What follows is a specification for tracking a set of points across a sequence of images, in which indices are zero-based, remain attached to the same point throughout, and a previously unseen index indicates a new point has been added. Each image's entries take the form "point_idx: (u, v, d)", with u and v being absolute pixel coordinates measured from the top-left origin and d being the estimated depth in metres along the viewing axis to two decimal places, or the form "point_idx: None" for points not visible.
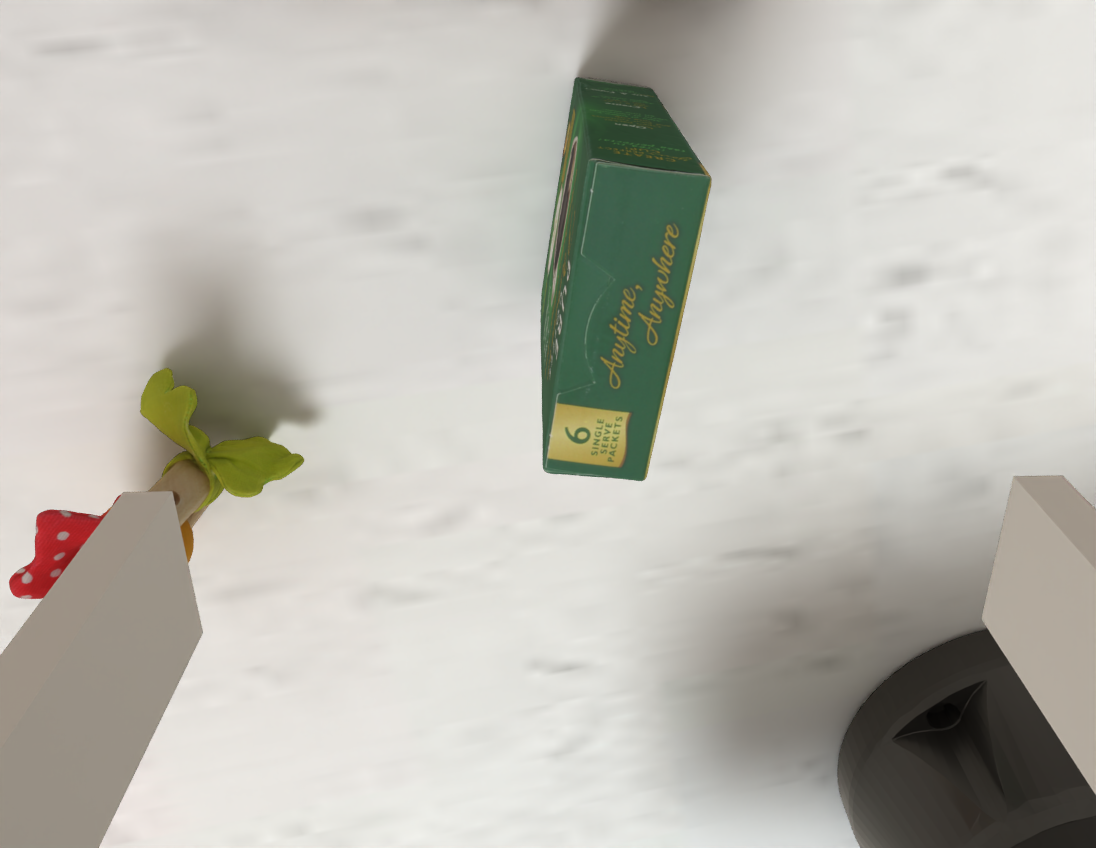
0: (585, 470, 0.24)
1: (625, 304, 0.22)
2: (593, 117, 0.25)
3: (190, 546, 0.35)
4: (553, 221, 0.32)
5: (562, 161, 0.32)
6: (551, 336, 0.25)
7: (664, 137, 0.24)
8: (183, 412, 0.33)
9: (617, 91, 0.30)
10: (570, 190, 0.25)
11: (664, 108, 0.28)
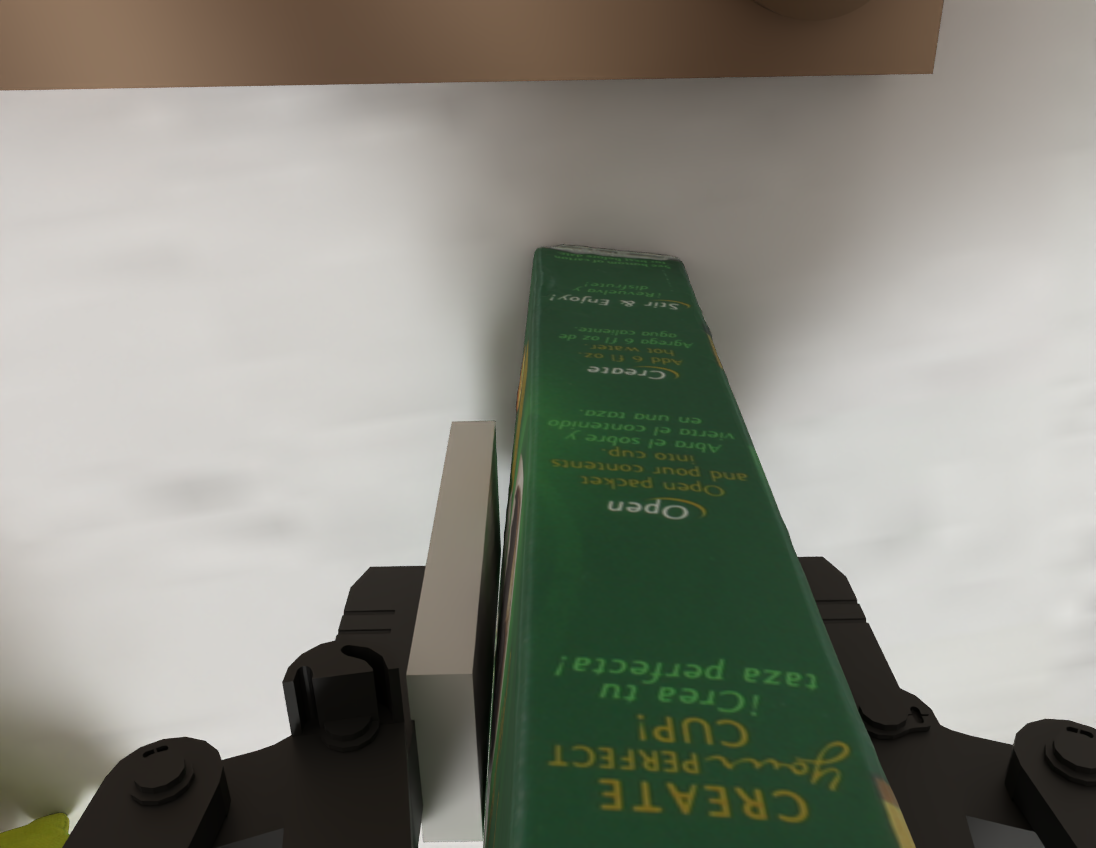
0: None
1: None
2: (554, 474, 0.10)
3: None
4: None
5: None
6: None
7: (743, 577, 0.09)
8: None
9: (615, 295, 0.15)
10: (506, 644, 0.10)
11: (717, 362, 0.13)
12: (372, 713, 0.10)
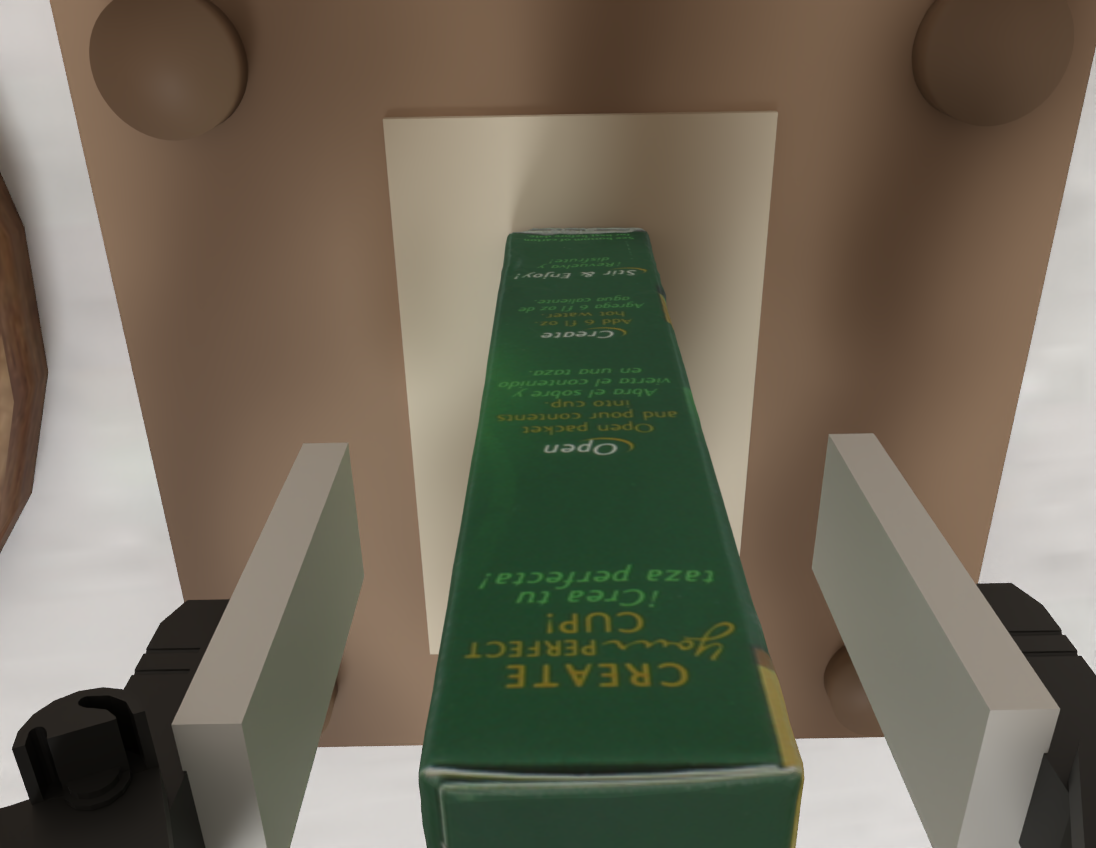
0: None
1: None
2: (498, 427, 0.11)
3: None
4: None
5: None
6: None
7: (659, 496, 0.10)
8: None
9: (577, 268, 0.16)
10: None
11: (665, 317, 0.14)
12: (121, 763, 0.10)
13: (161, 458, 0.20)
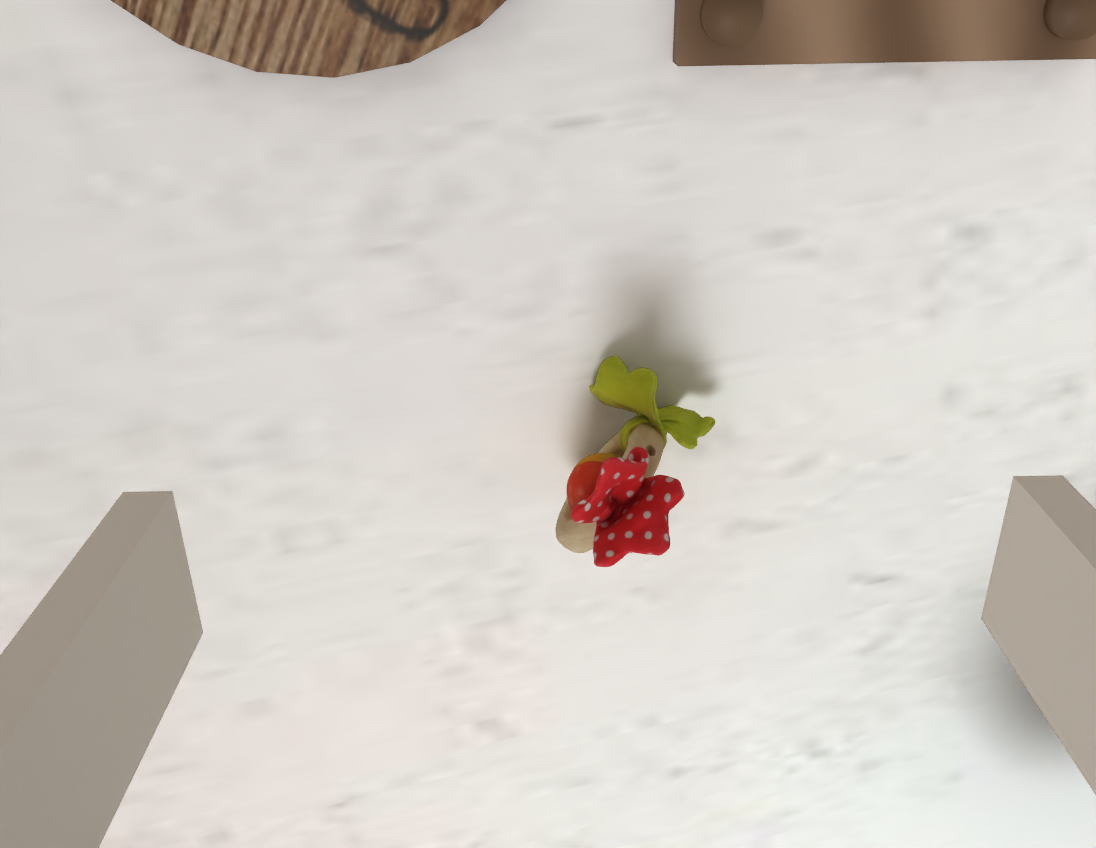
0: None
1: None
2: None
3: None
4: None
5: None
6: None
7: None
8: (651, 387, 0.45)
9: None
10: None
11: None
12: None
13: None
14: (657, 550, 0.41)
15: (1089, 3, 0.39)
